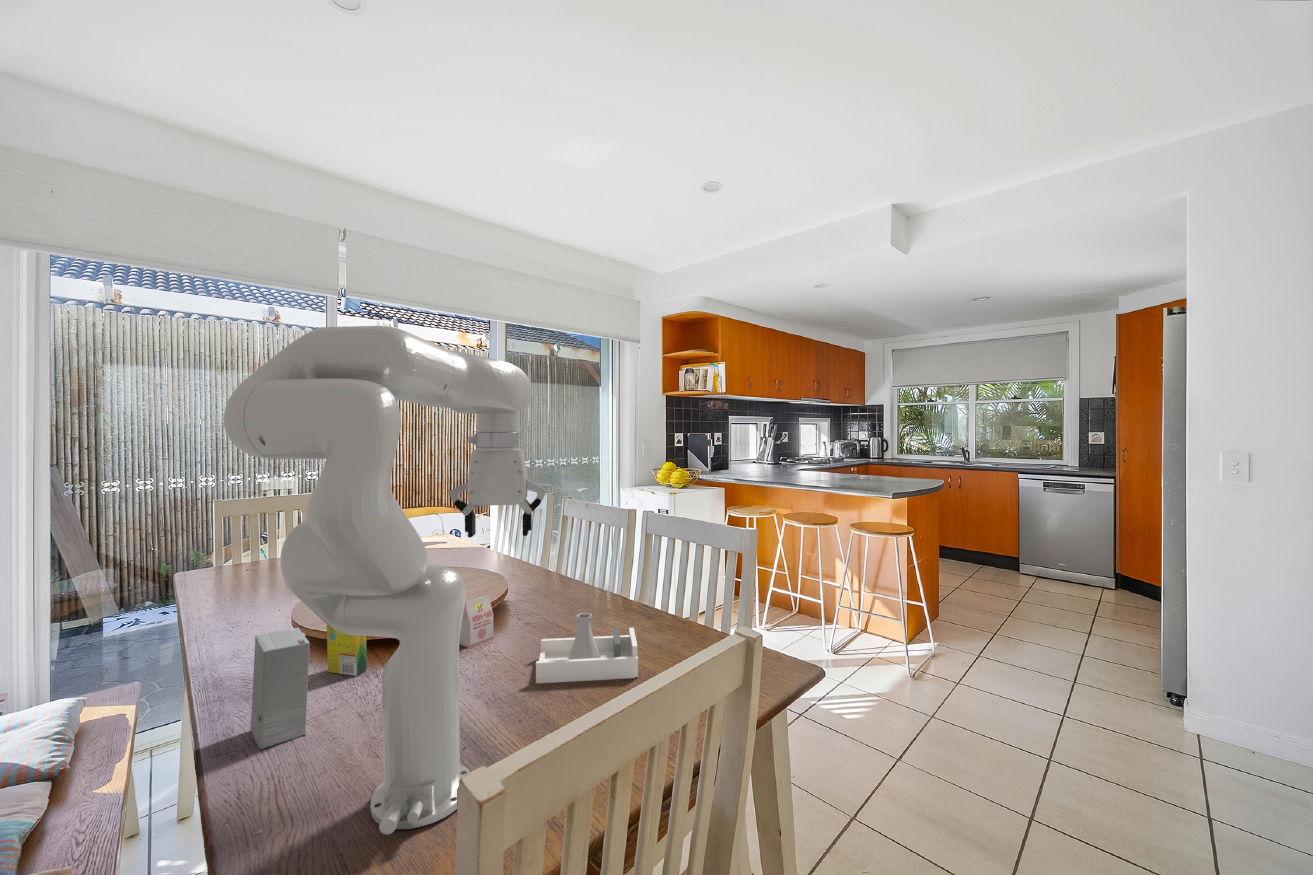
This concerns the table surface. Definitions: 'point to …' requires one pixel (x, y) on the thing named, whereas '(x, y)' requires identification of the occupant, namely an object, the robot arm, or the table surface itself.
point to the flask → (584, 640)
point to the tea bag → (476, 622)
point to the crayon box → (346, 653)
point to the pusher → (616, 643)
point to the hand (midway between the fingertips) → (498, 535)
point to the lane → (587, 660)
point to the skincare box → (279, 687)
